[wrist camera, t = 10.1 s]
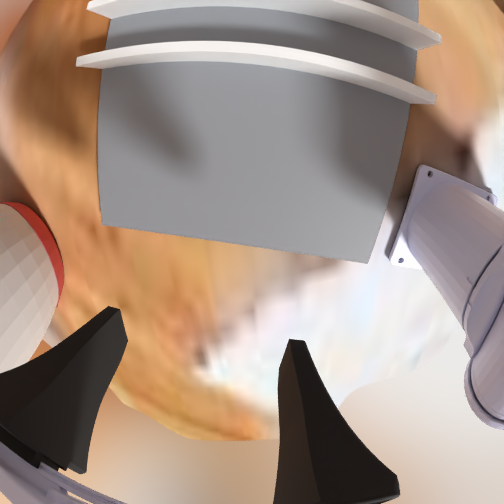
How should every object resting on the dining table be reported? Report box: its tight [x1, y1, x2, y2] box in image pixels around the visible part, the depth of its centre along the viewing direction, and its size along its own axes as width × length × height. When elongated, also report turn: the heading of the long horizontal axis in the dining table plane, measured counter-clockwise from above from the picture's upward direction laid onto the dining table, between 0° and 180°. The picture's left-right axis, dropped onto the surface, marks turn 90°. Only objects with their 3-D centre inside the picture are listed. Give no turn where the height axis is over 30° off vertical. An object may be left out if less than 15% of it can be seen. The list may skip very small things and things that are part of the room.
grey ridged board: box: [76, 0, 441, 264], centre depth 11 cm, size 20×26×4 cm
